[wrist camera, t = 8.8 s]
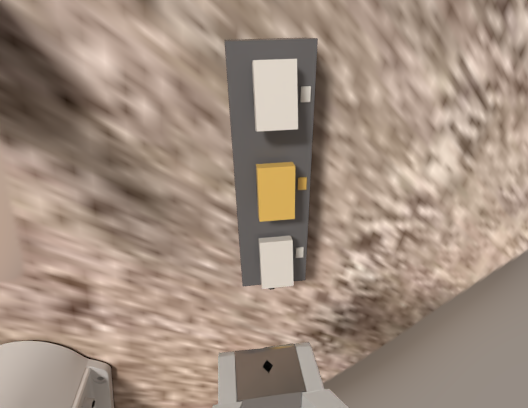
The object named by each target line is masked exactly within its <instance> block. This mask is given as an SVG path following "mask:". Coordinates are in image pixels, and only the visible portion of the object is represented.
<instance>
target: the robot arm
mask: <svg viewBox="0 0 528 408" xmlns="http://www.w3.org/2000/svg"><path fill="white" fill-rule="evenodd" d="M0 408H114V399H113V386H112V373H111V367H110V366H109V365H108V364H106V363H103V362H100V361H96V360H92V359H88V358H86V357H84V356H82V355H80V354H78V353H76V352H75V351H73V350H70V349H68V348H65V347H63V346H60V345H56V344H52V343H47V342H39V341H18V342H11V343H6V344H3V345H0ZM212 408H349V407H348V406H347V405H346V404H345V403H344V402H343V401H342V400H341V399H340V398H339V397H337V396H336V395H335V394H334V393H333V392H332V391H331V390H330V389H325V388H324V385H323V382H322V379H321V376H320V372H319V369H318V366H317V363H316V360H315V356H314V353H313V350H312V347H311V344H310V343H309V342H304V343H297V344H286V345H279V346H272V347H265V348H262V349H252V350H242V351H235V352H234V351H232V352H223V353H219V356H218V404H217V405H213V407H212Z"/></svg>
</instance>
